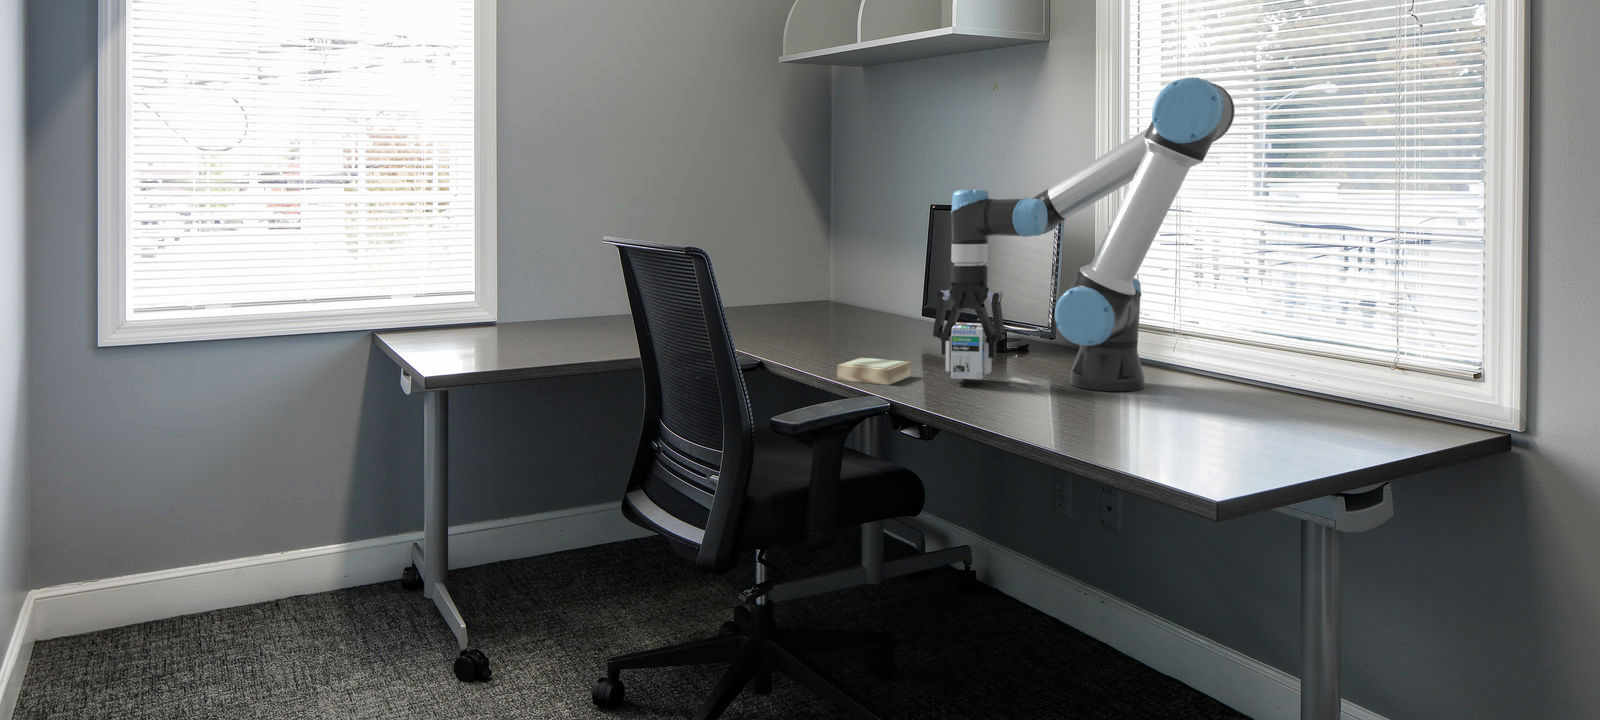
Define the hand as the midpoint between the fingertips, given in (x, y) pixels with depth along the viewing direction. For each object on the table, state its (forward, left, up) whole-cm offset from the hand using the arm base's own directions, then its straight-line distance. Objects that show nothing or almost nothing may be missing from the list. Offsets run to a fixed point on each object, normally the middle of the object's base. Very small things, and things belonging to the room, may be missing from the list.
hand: (968, 371), depth 237 cm
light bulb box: (0, 0, -1) cm, 1 cm away
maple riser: (+20, +5, -2) cm, 20 cm away
